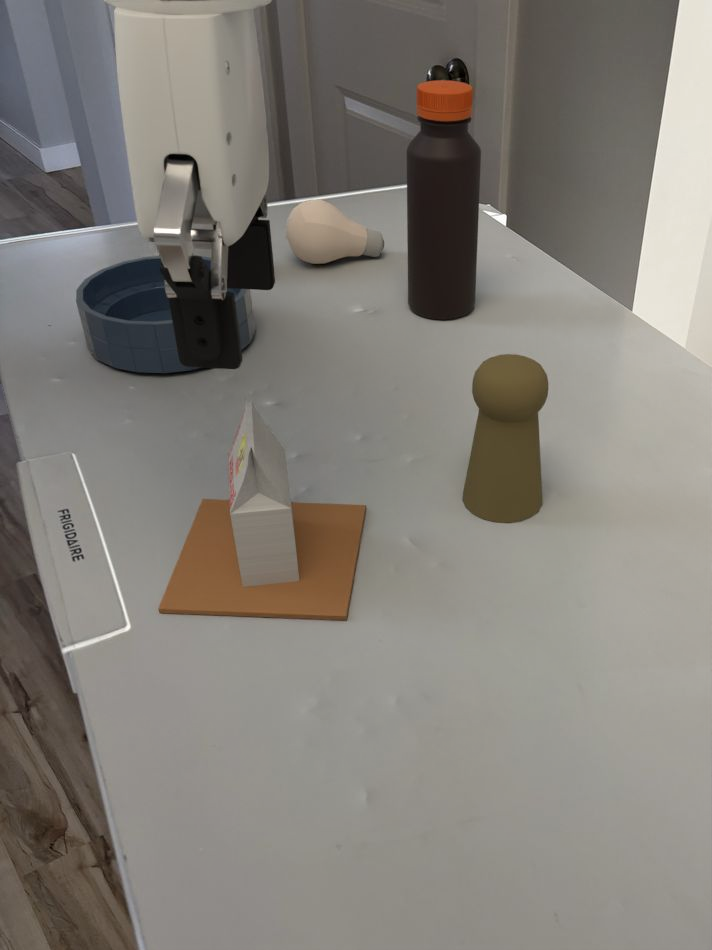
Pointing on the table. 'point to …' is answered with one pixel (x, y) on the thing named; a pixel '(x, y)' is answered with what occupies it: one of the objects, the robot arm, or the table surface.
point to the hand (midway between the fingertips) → (231, 323)
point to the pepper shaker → (506, 440)
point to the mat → (312, 597)
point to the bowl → (140, 317)
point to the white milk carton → (261, 504)
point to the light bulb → (328, 234)
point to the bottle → (443, 203)
